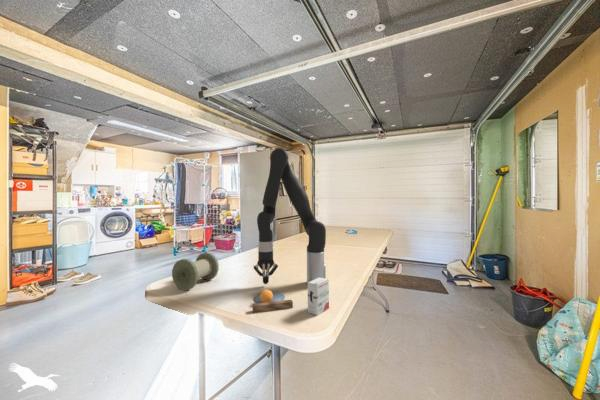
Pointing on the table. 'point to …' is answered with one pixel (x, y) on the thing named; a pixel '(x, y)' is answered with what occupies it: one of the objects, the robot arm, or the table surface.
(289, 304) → the brown square bar
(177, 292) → the table surface
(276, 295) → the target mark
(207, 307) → the table surface
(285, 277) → the table surface
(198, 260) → the spool
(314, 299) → the ink box
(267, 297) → the ball
